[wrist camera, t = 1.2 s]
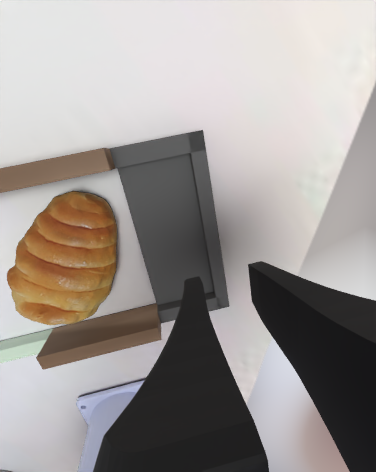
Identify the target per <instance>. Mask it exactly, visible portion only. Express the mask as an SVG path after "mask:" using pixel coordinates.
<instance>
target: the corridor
mask: <svg viewBox="0 0 376 472" xmlns="http://www.w3.org/2000/svg"><path fill="white" fill-rule="evenodd" d="M112 169H115V166H114V162H113V159H112V156H111V152H110V149H108V148H101V149H96V150H91V151H86V152H81V153H76V154H71V155H66V156H61V157H56V158H51V159H46V160H41V161H36V162H31V163H26V164H21V165H16V166H11V167H6V168H1V169H0V193H2V192H7V191H12V190H16V189H21V188H26V187H31V186H36V185H41V184H46V183H51V182H55V181H60V180H65V179H70V178H75V177H80V176H85V175H90V174H94V173H99V172H104V171H109V170H112ZM158 340H161V322H160V319H159V316H158V312H157V303H156V304H152V305H148V306H144V307H140V308H135V309H131V310H127V311H123V312H119V313H115V314H111V315H107V316H102V317H98V318H94V319H90V320H86V321H82V322H78V323H74V324H70V325H65V326H61V327H57V328H53V330H52V332H51V333H50V335H49V337H48V338H47V340H46V342H45V344H44V345H43V347H42V349H41V351H40V352H39V354H38V356H37V357H36V358H37V360H38V362H39V364H40V365H41V367H42V369H47V368H51V367H55V366H59V365H63V364H67V363H71V362H75V361H79V360H83V359H87V358H91V357H95V356H99V355H103V354H107V353H110V352H114V351H118V350H122V349H126V348H130V347H134V346H138V345H142V344H146V343H150V342H154V341H158Z"/></svg>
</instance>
